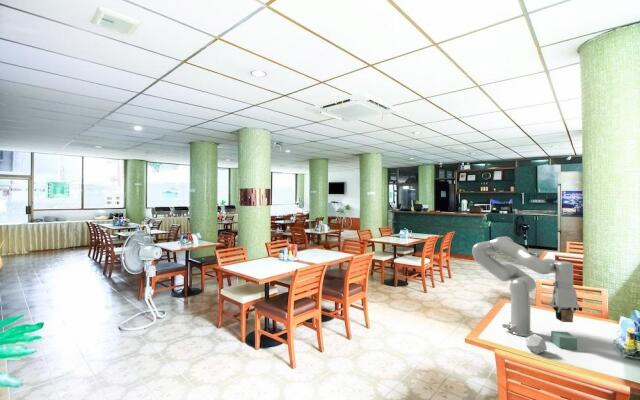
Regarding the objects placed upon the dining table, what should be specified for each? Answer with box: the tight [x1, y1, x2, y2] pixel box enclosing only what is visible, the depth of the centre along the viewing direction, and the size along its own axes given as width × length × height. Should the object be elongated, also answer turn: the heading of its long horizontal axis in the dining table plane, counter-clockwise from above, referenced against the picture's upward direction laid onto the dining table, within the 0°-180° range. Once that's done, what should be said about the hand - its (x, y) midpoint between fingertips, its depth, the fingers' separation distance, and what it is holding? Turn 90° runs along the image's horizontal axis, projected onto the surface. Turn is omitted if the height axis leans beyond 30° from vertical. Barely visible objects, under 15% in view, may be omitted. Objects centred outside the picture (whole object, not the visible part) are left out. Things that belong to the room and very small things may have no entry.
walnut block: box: [555, 308, 574, 323], centre depth 166 cm, size 5×5×6 cm
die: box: [524, 333, 547, 355], centre depth 159 cm, size 8×9×10 cm
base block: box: [550, 330, 578, 351], centre depth 167 cm, size 8×8×6 cm
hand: (564, 319), depth 166 cm, fingers closed on walnut block, 5 cm apart
